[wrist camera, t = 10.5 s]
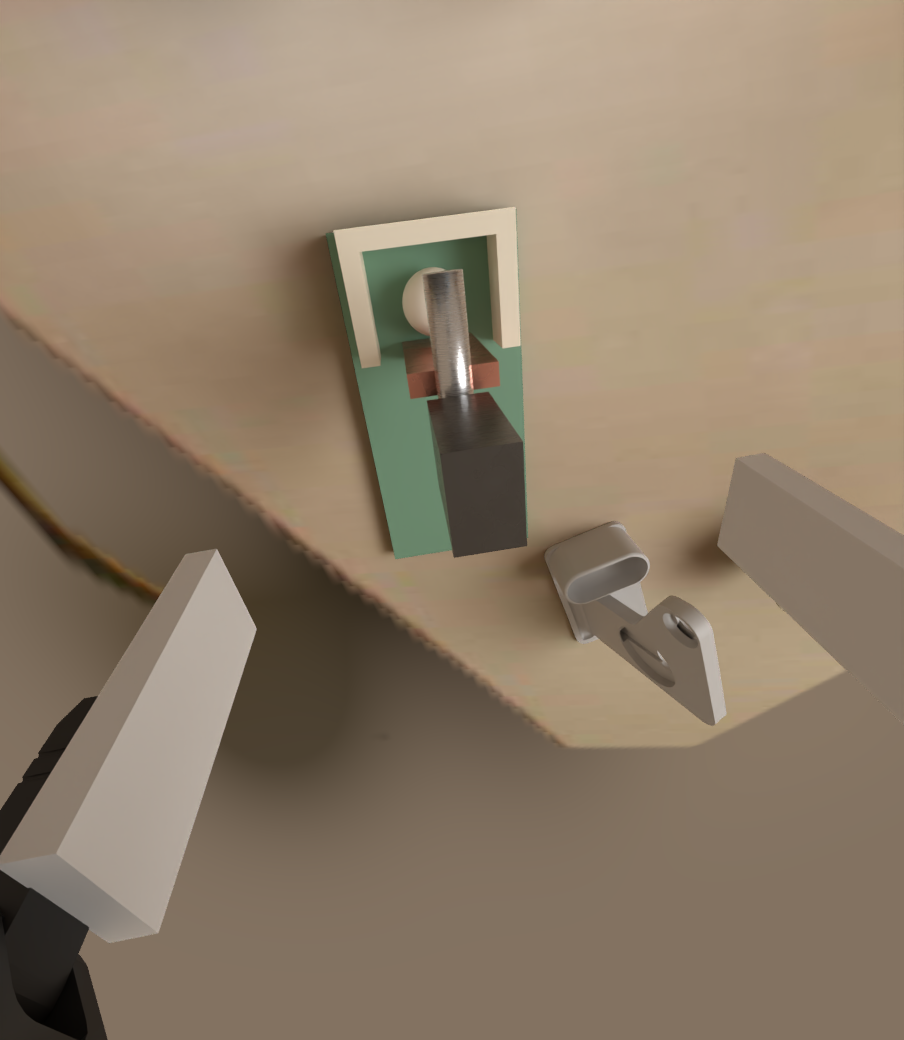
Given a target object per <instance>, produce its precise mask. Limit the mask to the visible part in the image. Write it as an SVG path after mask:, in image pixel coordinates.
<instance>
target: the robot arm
mask: <svg viewBox="0 0 904 1040" xmlns="http://www.w3.org/2000/svg"><path fill="white" fill-rule="evenodd" d="M717 546H718V547H719V548H720V549H721V550H722V551H723V552H724V553H725V554H726V555H727V556H728V557H729V558H730V559H731V560H732V561H733V562H734V563H735V564H737V565H738V566H739V567H740V568H741V569H742V570H743V571H744V572H745V573H746V574H747V575H748V576H749V577H750V578H751V579H752V580H753V581H754V582H755V583H756V584H757V585H758V586H759V587H760V588H761V589H762V590H764V591H765V592H766V593H767V594H768V595H769V596H770V597H771V598H772V599H773V600H774V601H775V602H776V603H777V604H778V605H779V606H780V607H781V608H782V609H783V610H784V611H785V612H786V613H787V614H788V615H790V616H791V617H792V618H793V619H794V620H795V621H796V622H797V623H798V624H799V625H800V626H801V627H802V628H803V629H804V630H805V631H806V632H807V633H808V634H809V635H810V636H811V637H812V638H813V639H814V640H815V641H817V642H818V643H819V644H820V645H821V646H822V647H823V648H824V649H825V650H826V651H827V652H828V653H829V654H830V655H831V656H832V657H833V658H834V659H835V660H836V661H837V662H838V663H839V664H840V665H841V666H843V667H844V668H845V669H846V670H847V671H848V672H849V673H850V674H851V675H852V676H853V677H854V678H855V679H856V680H857V681H858V682H859V683H860V684H861V685H863V687H864V688H866V690H867V691H868V692H870V693H871V694H872V695H873V696H874V697H875V698H876V699H877V700H878V701H879V702H880V703H881V704H882V705H883V706H884V707H885V708H886V709H887V710H888V711H889V712H890V713H891V714H892V715H893V716H894V717H896V718H897V719H898V720H899V721H900V722H901V723H902V724H903V725H904V535H902V534H901V533H899V532H897V531H895V530H894V529H892V528H890V527H889V526H887V525H885V524H884V523H882V522H880V521H879V520H877V519H875V518H874V517H872V516H870V515H869V514H867V513H865V512H864V511H862V510H860V509H858V508H857V507H855V506H853V505H852V504H850V503H848V502H847V501H845V500H843V499H842V498H840V497H838V496H837V495H835V494H833V493H832V492H830V491H828V490H827V489H825V488H823V487H822V486H820V485H818V484H816V483H815V482H813V481H811V480H810V479H808V478H806V477H805V476H803V475H801V474H800V473H798V472H796V471H795V470H793V469H791V468H790V467H788V466H786V465H785V464H783V463H781V462H779V461H778V460H776V459H774V458H773V457H771V456H769V455H768V454H766V453H762V454H756V455H750V456H745V457H739V458H736V460H735V464H734V469H733V474H732V478H731V483H730V488H729V492H728V497H727V502H726V506H725V511H724V516H723V521H722V525H721V530H720V535H719V539H718V544H717ZM255 632H256V627H255V625H254V622H253V620H252V618H251V616H250V615H249V613H248V611H247V608H246V606H245V604H244V602H243V601H242V598H241V597H240V594H239V593H238V590H237V588H236V586H235V584H234V582H233V580H232V578H231V576H230V574H229V572H228V570H227V568H226V566H225V564H224V562H223V560H222V558H221V556H220V554H219V552H218V550H217V549H213V550H208V551H202V552H196V553H190V554H185V556H184V557H183V559H182V561H181V562H180V564H179V566H178V567H177V569H176V570H175V572H174V574H173V575H172V577H171V579H170V580H169V582H168V584H167V585H166V587H165V588H164V590H163V592H162V593H161V595H160V596H159V598H158V600H157V601H156V603H155V605H154V606H153V608H152V609H151V611H150V613H149V614H148V616H147V618H146V619H145V621H144V622H143V624H142V626H141V627H140V629H139V631H138V632H137V634H136V636H135V637H134V639H133V640H132V642H131V644H130V645H129V647H128V648H127V650H126V652H125V653H124V655H123V657H122V658H121V660H120V661H119V663H118V665H117V666H116V668H115V670H114V671H113V673H112V675H111V676H110V678H109V679H108V681H107V683H106V684H105V686H104V687H103V689H102V691H101V692H100V694H99V696H95V697H90V698H84V699H83V700H82V701H81V702H80V703H79V704H78V705H77V706H76V707H75V708H74V709H73V710H72V711H71V712H70V713H69V714H68V715H66V717H64V718H63V719H62V720H61V721H60V722H59V723H58V724H57V726H56V727H55V729H54V730H53V732H52V733H51V735H50V736H49V738H48V739H47V741H46V742H45V744H44V745H43V747H42V748H41V750H40V751H39V753H38V754H39V757H38V758H36V759H34V760H33V762H32V763H31V765H30V766H29V768H28V769H27V771H26V772H25V774H24V776H23V781H22V783H18V784H17V786H16V787H15V789H14V791H13V792H12V794H11V795H10V796H9V798H8V800H7V801H6V802H5V804H4V805H3V807H2V809H1V810H0V1040H107V1036H106V1032H105V1029H104V1025H103V1021H102V1018H101V1014H100V1010H99V1007H98V1003H97V999H96V996H95V992H94V989H93V985H92V981H91V978H90V975H89V970H88V967H87V965H86V963H85V962H84V960H83V959H82V958H81V956H80V955H79V954H78V953H79V951H80V948H81V946H82V944H83V941H84V939H85V937H86V934H87V932H88V930H90V931H92V932H94V933H95V934H96V935H98V936H99V937H101V938H102V939H104V940H105V941H107V942H108V943H112V942H117V941H122V940H127V939H132V938H137V937H142V936H147V935H152V934H157V933H158V932H159V929H160V926H161V923H162V920H163V917H164V914H165V910H166V907H167V904H168V901H169V898H170V895H171V892H172V889H173V886H174V883H175V880H176V876H177V873H178V870H179V867H180V864H181V861H182V858H183V855H184V852H185V849H186V846H187V842H188V839H189V836H190V833H191V830H192V827H193V824H194V821H195V818H196V815H197V812H198V808H199V806H200V802H201V799H202V796H203V793H204V790H205V787H206V783H207V780H208V778H209V775H210V772H211V768H212V765H213V762H214V759H215V756H216V753H217V750H218V747H219V744H220V741H221V737H222V734H223V731H224V728H225V725H226V722H227V719H228V716H229V712H230V710H231V707H232V703H233V700H234V697H235V694H236V691H237V688H238V685H239V682H240V679H241V676H242V673H243V670H244V666H245V663H246V660H247V657H248V654H249V651H250V648H251V645H252V642H253V638H254V635H255Z"/></svg>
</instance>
